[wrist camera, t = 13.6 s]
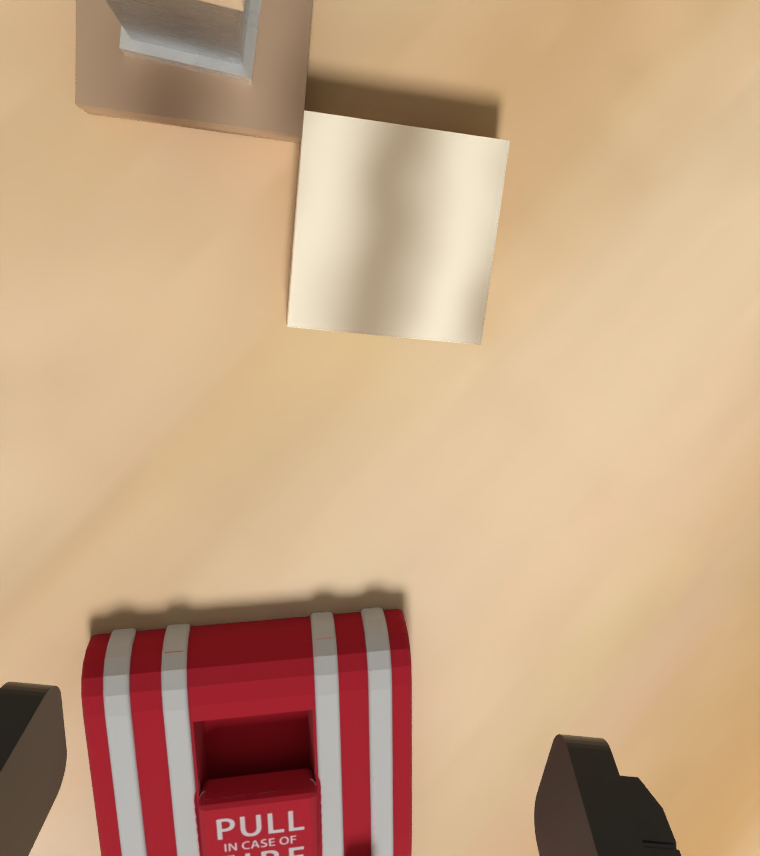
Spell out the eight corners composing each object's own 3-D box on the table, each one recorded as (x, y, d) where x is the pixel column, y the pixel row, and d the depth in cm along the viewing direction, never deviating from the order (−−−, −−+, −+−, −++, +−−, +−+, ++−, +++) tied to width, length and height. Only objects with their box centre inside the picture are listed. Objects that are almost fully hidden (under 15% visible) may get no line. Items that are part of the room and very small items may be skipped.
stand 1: (318, -86, 29) (321, -110, 27) (300, 143, 31) (302, 136, 29) (90, -131, 28) (77, -159, 26) (87, 113, 30) (75, 103, 28)
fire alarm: (107, 1042, 35) (57, 695, 30) (130, 933, 41) (91, 626, 36) (421, 991, 37) (423, 660, 32) (402, 894, 43) (401, 600, 38)
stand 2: (495, 147, 32) (509, 140, 31) (469, 339, 34) (480, 345, 33) (302, 119, 31) (304, 110, 29) (286, 322, 33) (287, 326, 31)
